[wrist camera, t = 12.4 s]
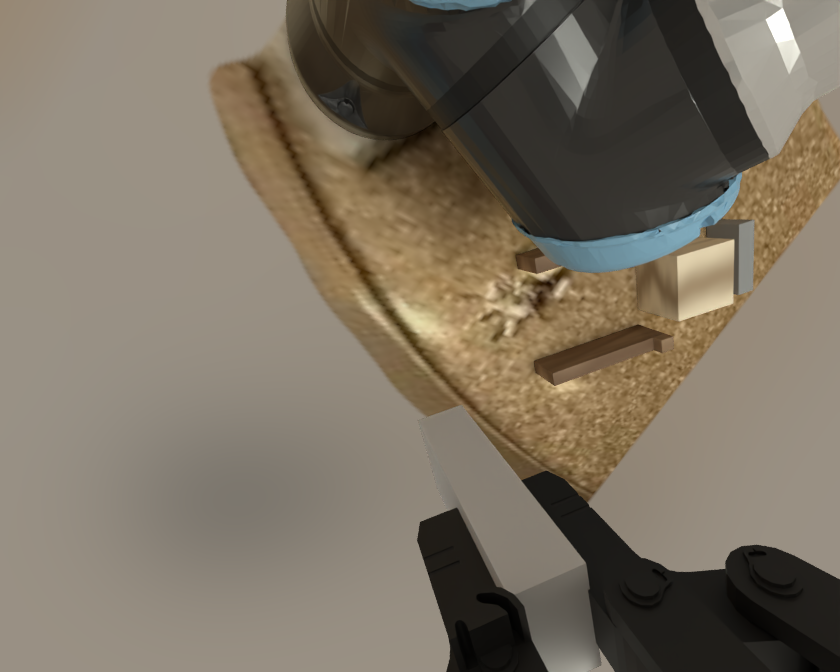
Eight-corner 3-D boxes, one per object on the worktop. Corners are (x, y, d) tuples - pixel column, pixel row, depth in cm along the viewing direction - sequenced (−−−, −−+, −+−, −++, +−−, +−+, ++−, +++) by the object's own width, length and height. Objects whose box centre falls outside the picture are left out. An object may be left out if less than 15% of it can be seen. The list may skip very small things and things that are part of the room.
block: (634, 251, 48) (677, 256, 42) (685, 236, 49) (734, 239, 43) (637, 309, 50) (678, 321, 44) (686, 293, 51) (733, 303, 45)
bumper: (706, 223, 49) (739, 224, 45) (720, 219, 49) (754, 219, 45) (707, 289, 51) (738, 294, 48) (721, 284, 52) (752, 289, 48)
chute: (515, 255, 44) (541, 260, 39) (630, 220, 46) (667, 221, 41) (535, 372, 49) (560, 390, 44) (639, 336, 51) (674, 348, 46)
